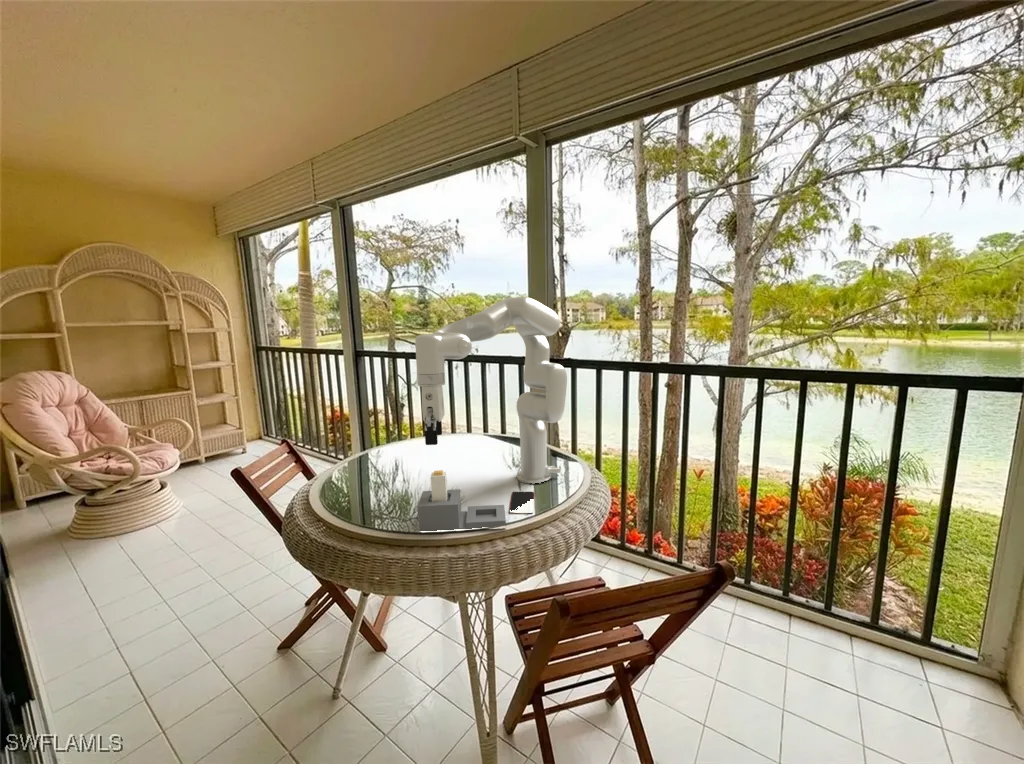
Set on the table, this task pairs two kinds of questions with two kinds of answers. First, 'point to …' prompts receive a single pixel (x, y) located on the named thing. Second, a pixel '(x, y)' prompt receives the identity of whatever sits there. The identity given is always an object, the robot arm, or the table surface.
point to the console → (456, 514)
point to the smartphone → (520, 499)
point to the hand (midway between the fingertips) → (434, 439)
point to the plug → (439, 486)
